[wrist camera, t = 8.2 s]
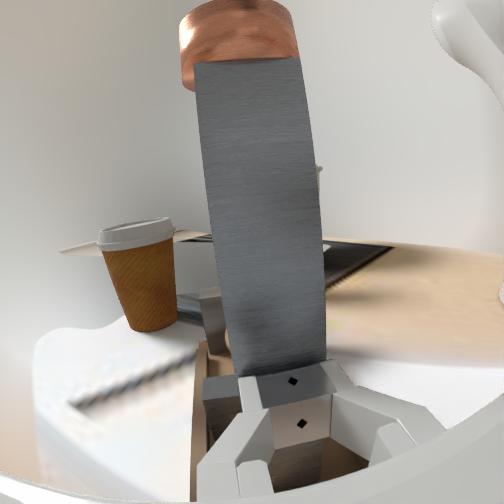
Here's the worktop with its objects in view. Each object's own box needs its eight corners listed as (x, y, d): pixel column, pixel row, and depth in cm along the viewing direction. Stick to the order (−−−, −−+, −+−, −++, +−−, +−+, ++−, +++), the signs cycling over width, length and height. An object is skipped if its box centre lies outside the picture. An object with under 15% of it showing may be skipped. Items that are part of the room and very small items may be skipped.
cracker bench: (402, 524, 7) (449, 449, 6) (203, 569, 6) (149, 520, 5) (298, 340, 27) (293, 275, 25) (202, 355, 26) (188, 290, 24)
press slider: (360, 474, 10) (349, 3, 6) (220, 504, 9) (122, 13, 5) (323, 405, 15) (299, 66, 11) (215, 425, 15) (156, 78, 11)
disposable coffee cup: (190, 301, 40) (175, 214, 37) (192, 331, 31) (171, 220, 28) (124, 311, 38) (106, 226, 36) (110, 343, 29) (83, 237, 27)
